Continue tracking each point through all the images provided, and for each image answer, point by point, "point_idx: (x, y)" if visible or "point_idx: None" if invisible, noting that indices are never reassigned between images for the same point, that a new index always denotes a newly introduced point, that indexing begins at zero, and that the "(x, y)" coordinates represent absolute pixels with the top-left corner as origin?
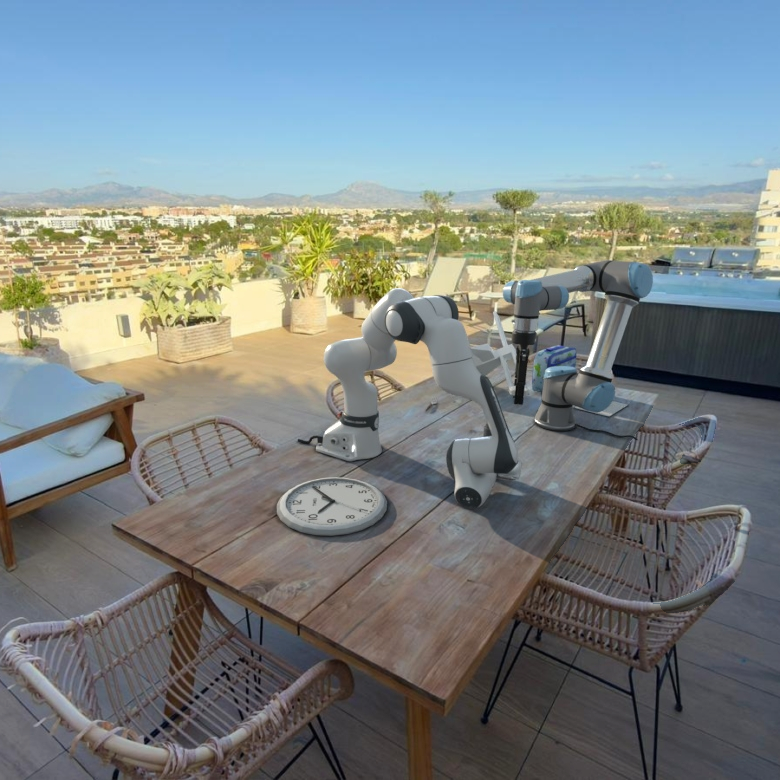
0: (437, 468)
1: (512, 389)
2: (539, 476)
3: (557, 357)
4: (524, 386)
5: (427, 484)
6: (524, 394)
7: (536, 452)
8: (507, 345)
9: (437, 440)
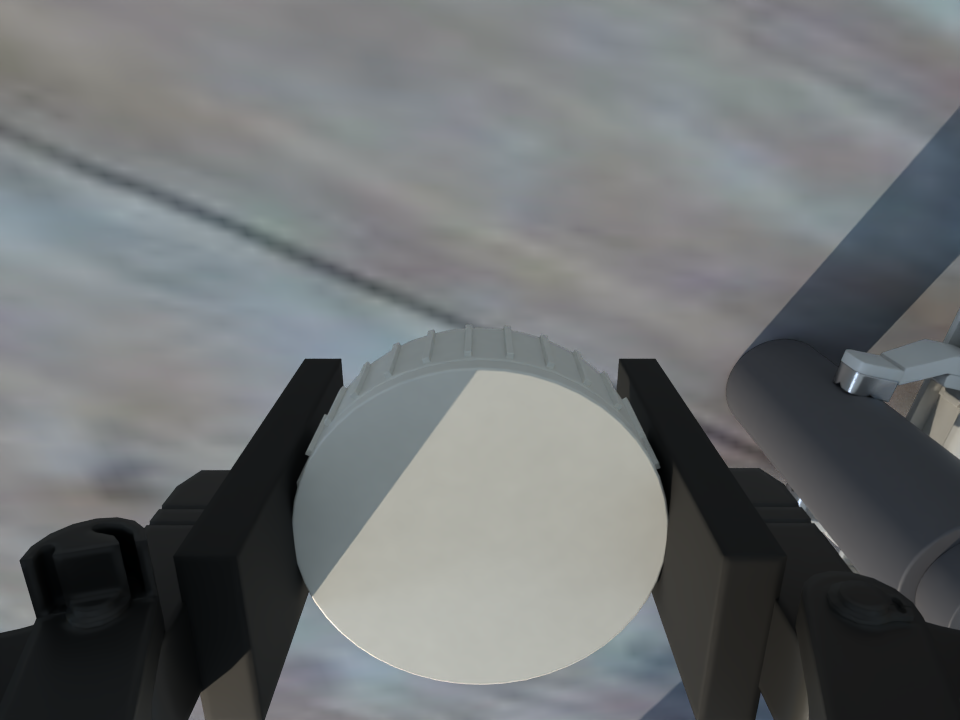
0: None
1: (590, 649)
2: (786, 68)
3: None
4: (777, 541)
5: None
6: (622, 408)
7: (367, 49)
8: None
9: (346, 653)
